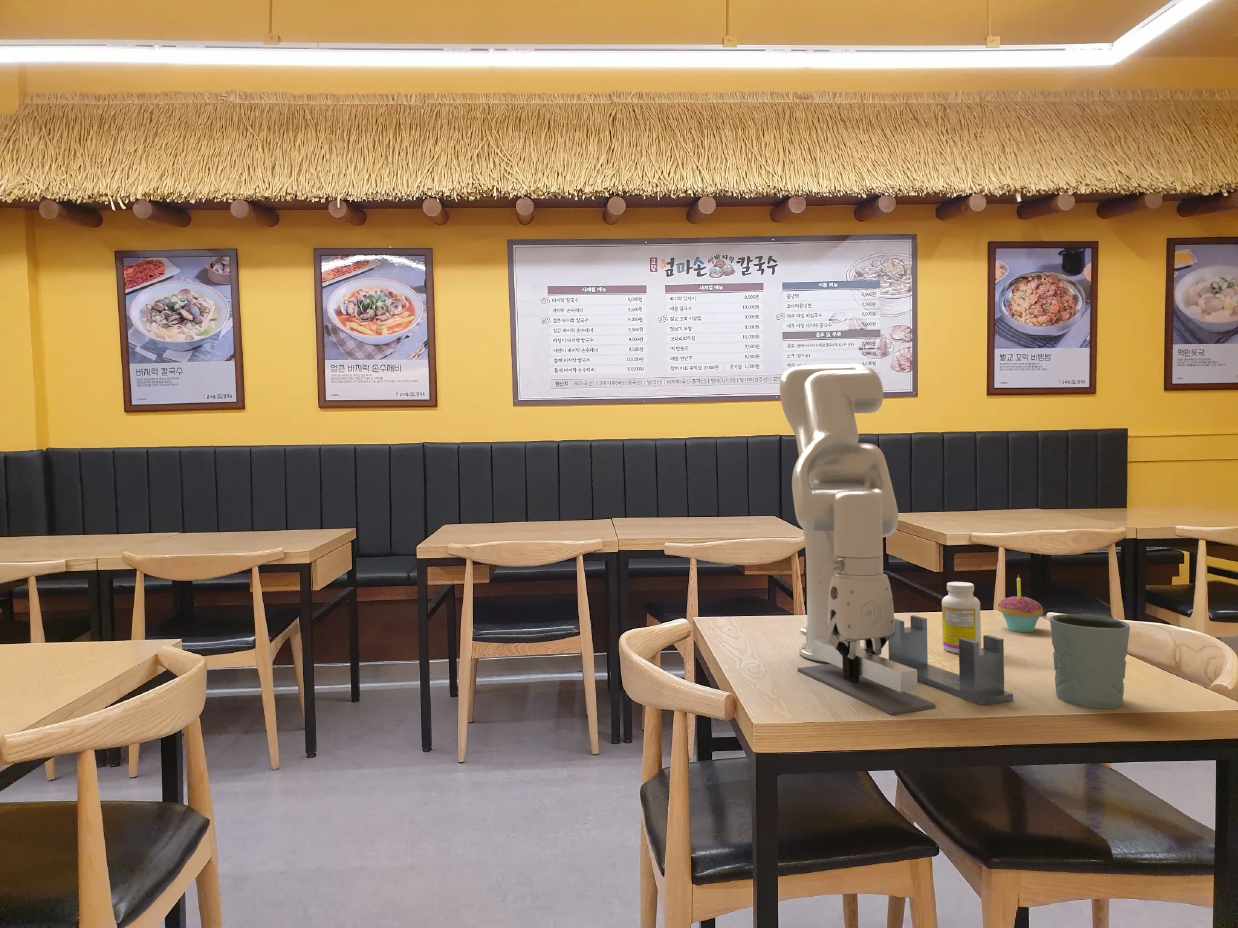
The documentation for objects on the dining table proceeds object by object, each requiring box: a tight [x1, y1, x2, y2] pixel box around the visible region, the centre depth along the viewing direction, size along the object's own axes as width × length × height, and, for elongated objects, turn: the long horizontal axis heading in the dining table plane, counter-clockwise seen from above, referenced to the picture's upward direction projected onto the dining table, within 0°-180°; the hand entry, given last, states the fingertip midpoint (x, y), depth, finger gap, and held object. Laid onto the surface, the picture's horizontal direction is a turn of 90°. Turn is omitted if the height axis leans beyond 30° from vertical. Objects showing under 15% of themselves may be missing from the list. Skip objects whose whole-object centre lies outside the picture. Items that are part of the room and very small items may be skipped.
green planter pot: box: [1049, 613, 1131, 709], centre depth 111 cm, size 10×10×12 cm
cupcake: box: [997, 574, 1044, 633], centre depth 155 cm, size 9×8×12 cm
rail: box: [813, 638, 918, 693], centre depth 118 cm, size 22×3×3 cm, turn 20°
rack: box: [887, 614, 1014, 706], centre depth 120 cm, size 22×6×9 cm, turn 20°
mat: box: [796, 663, 937, 716], centre depth 118 cm, size 24×8×1 cm, turn 20°
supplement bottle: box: [941, 581, 982, 655], centre depth 139 cm, size 7×7×13 cm
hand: (860, 678), depth 118 cm, fingers closed on rail, 3 cm apart
